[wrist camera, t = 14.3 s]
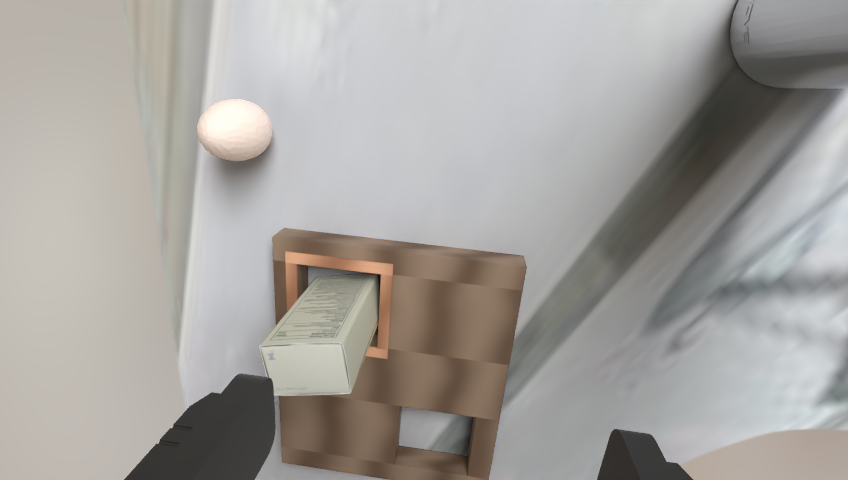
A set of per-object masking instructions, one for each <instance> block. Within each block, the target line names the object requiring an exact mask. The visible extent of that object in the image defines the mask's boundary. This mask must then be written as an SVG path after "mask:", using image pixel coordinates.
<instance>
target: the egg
mask: <svg viewBox="0 0 848 480" xmlns="http://www.w3.org/2000/svg"><path fill="white" fill-rule="evenodd" d="M197 135H198V138H199V141H200V143H201V144H202V145H203V146H204V148H205V149H206V150H207V151H209V152H210V153H211V154H213V155H215V156H217V157H219V158H222V159H225V160H230V161H244V160H248V159H252V158H254V157H256V156H258V155H260V154H261V153H262V152H264V151H265V149H266V148H267V147H268V145H269V143H270V141H271V138H272V124H271V121H270V119H269V117H268V116H267V114H266V113H265V112H264V111H263V110H262V109H261V108H260V107H259V106H257V105H255V104H253V103H252V102H250V101H245V100H241V99H229V100H224V101H220V102H218V103H215V104H213V105H212V106H210V107H209V108H208V109H207V110H206V111H205V112H204V113H203V114H202V116H201V117H200V119H199V122H198V125H197Z"/></svg>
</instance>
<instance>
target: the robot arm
mask: <svg viewBox="0 0 848 480" xmlns="http://www.w3.org/2000/svg"><path fill="white" fill-rule="evenodd" d="M730 35H731V47H732V51H733V55H734V57H735V59H736V61H737V63H738V65H739V67H740V68H741V69H742V70H743V71H744V72H745V73H746V74H747V75H748V76H749V77H750V78H752V79H753V80H755V81H757V82H758V83H760V84H763V85H767V86H770V87H775V88H818V89H848V0H738V3H737V5H736V8H735V10H734V13H733V18H732V23H731V28H730ZM274 436H275V408H274V387H273V381H272V379H271V378H268V377H261V376H254V375H247V374H238V375H237V376H235V378H234V379H233V380H232V381H231V382H230V383H229V385H228V386H227V387H226V388H225V389H224V391H223V392H222V393H221V394H218V393H210V394H209V395H207V396H205V397H204V398H202V399H201V400H199V401H198V402H196V403H194V404H193V405H191V406H190V407H189V408H188V409H187V410H186V411H185V412H184V413H183V415H182V416H181V417H180V418H179V419H178V420H177V421H176V423H175V424H174V426H173V428H172V429H169V430H168V432H166V434H165V435H164V436H163V437H162V438H161V439H160V442H159V444H156V445H155V446H154V447H153V448H152V449H151V450H150V451H149V453H148V454H147V455H146V456H145V457H144V458H143V459H142V461H141V462H140V463H139V464H138V465H137V466H136V467H135V468H134V469H133V470H132V472H131V473H130V474H129V475H128V476H127V477H126V478H125V479H124V480H255V478H256V476H257V474H258V472H259V471H260V469H261V467H262V465H263V464H264V462H265V460H266V458H267V456H268V455H269V452H270V450H271V447H272V444H273V440H274ZM597 480H693V479H692V478H691V477H690V476H689V475H688V474H687V473H686V472H685V471H684V470H683V469H682V468H681V467H680V466H679V465H678V463H671V462H666V460H665V458H664V456H663V454H662V452H661V450H660V448H659V446H658V444H657V442H656V441H655V439H654V437H653V436H652V435H650V434H646V433H639V432H632V431H625V430H618V429H614V430H613V431H612V433H611V435H610V438H609V441H608V444H607V448H606V451H605V455H604V458H603V461H602V465H601V468H600V472H599V475H598V479H597Z"/></svg>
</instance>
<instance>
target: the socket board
mask: <svg viewBox="0 0 848 480" xmlns="http://www.w3.org/2000/svg"><path fill="white" fill-rule="evenodd" d="M272 239H273V262H274V285H275V308H276V325H277V324H278V323H279V321H280V320H281V319H282V318H283V317H284V315H285V314H286V313H287V312H288V311H289V309H290V308H291V307H292V306H293V305H294V303H295V302H296V301H297V300H298V299H299V297H300V296H301V295H302V294H303V293H304V291H305V290H306V289H307V288H308V265H309V266H317V267H326V268H334V269H342V270H350V271H358V272H366V273H374V274H381V284H380V304H379V324H378V332H375V333H374V336H373V338H372V341H371V343H370V346H369V348H368V351H367V354H366V356H365V359H364V361H363V364H362V366H361V369H360V371H359V374H358V376H357V379H356V382H355V384H354V387H353V389H352V392H351V393H350V394H333V395H303V396H301V395H300V396H279V400H280V423H281V446H282V462H283V463H290V464H296V465H302V466H308V467H314V468H321V469H327V470H333V471H339V472H346V473H352V474H358V475H364V476H370V477H377V478H383V479H389V480H489V475H490V469H491V464H492V458H493V452H494V447H495V441H496V436H497V430H498V424H499V419H500V413H501V408H502V402H503V396H504V391H505V385H506V380H507V374H508V368H509V363H510V357H511V352H512V346H513V340H514V335H515V329H516V324H517V318H518V312H519V307H520V301H521V296H522V290H523V284H524V279H525V273H526V268H527V267H526V263H525V260H524V256H520V255H511V254H503V253H494V252H485V251H477V250H468V249H460V248H451V247H442V246H434V245H425V244H417V243H408V242H399V241H391V240H382V239H374V238H365V237H356V236H348V235H339V234H331V233H322V232H313V231H305V230H296V229H288V228H284V229H283V230H281V231H280V232H278V233H277V234H276V235H274V236H273V237H272ZM401 407H409V408H416V409H423V410H430V411H436V412H443V413H450V414H457V415H464V416H470V417H474V418H473V425H472V431H471V438H470V444H469V451H468V456H462V455H456V454H449V453H443V452H436V451H430V450H423V449H417V448H410V447H404V446H398V445H399V433H400V420H401Z"/></svg>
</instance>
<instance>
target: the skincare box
mask: <svg viewBox="0 0 848 480" xmlns="http://www.w3.org/2000/svg"><path fill="white" fill-rule="evenodd" d="M379 304H380V287H379V281H378V276H377V274H352V275H332V276H319V277H316V278H315V279H314V280H313V282H312V283H311V284H310V285H309V287H308V288H307V289H306V290H305V291H304V293H303V294H302V295H301V296H300V297H299V299H298V300H297V301H296V302H295V303H294V305H293V306H292V307H291V308H290V309H289V311H288V312H287V313H286V314H285V315H284V317H283V318H282V319H281V320H280V321H279V323H278V324H277V325H276V326H275V328H274V329H273V330H272V331H271V332H270V334H269V335H268V336H267V337H266V338H265V339H264V341H263V342H262V343H261V344H260V346H259V349H260V353H261V357H262V361H263V366H264V369H265V373H266V377H268V378H271V379H272V381H273V387H274V396H300V395H301V396H303V395H333V394H350V393H351V392H352V389H353V387H354V384H355V382H356V379H357V376H358V374H359V371H360V369H361V366H362V364H363V361H364V359H365V356H366V354H367V351H368V348H369V346H370V343H371V341H372V338H373V336H374V333H375V331H376V328H377V326H378V323H379Z"/></svg>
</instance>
